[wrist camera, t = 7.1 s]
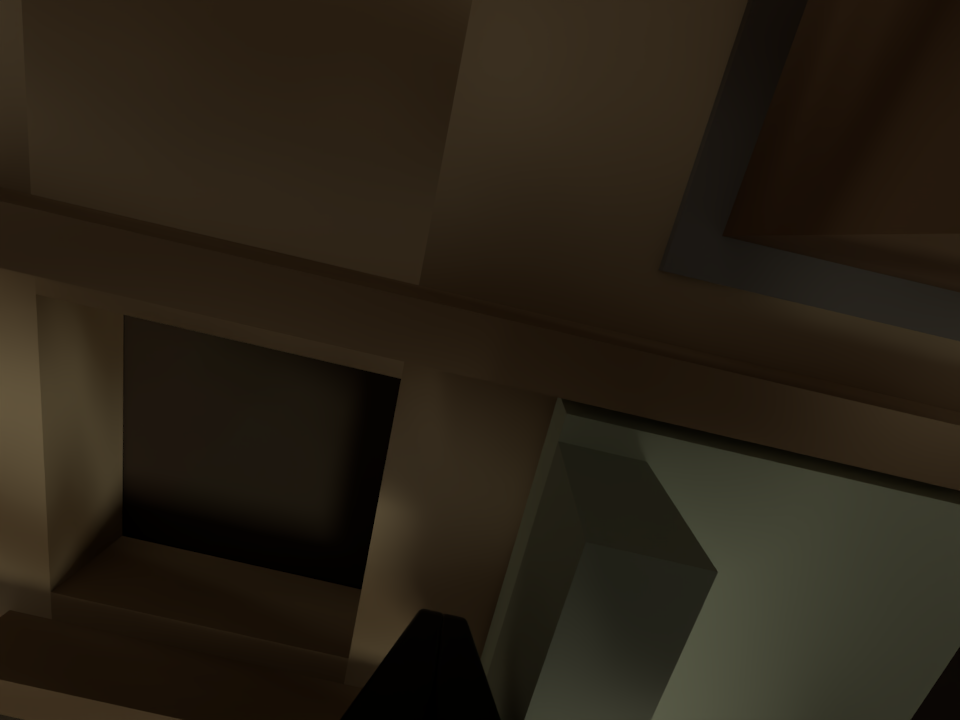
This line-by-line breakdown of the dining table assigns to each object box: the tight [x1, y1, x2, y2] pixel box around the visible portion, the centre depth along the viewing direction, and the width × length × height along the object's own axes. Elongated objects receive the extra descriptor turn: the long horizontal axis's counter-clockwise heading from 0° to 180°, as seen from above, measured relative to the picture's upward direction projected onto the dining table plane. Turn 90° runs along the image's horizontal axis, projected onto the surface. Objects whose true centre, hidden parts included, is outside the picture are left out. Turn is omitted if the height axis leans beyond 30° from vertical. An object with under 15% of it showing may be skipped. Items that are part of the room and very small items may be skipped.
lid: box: [480, 398, 960, 720], centre depth 8 cm, size 8×8×4 cm
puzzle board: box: [0, 0, 960, 720], centre depth 9 cm, size 19×21×3 cm
